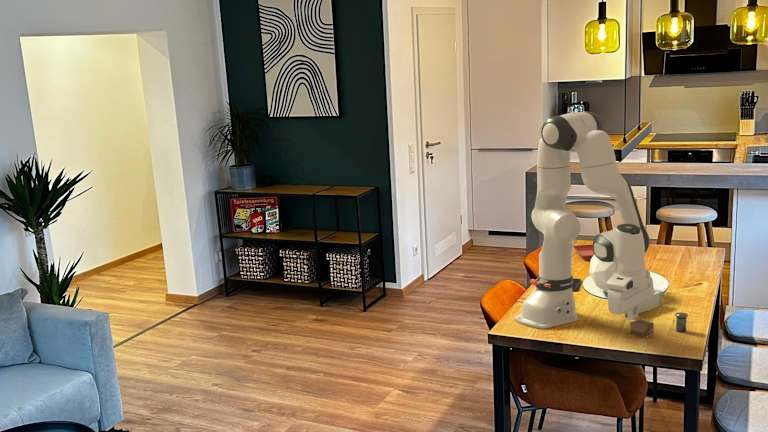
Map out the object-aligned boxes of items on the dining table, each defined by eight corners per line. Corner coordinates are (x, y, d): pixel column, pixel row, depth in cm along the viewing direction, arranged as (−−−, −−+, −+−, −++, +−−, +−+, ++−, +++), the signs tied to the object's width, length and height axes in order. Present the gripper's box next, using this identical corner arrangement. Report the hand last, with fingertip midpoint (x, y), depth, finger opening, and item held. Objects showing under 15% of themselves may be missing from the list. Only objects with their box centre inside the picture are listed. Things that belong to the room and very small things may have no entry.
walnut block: (643, 338, 223) (643, 326, 222) (630, 334, 227) (630, 322, 226) (653, 334, 225) (653, 322, 224) (640, 330, 229) (640, 318, 229)
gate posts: (683, 333, 224) (683, 317, 223) (622, 316, 242) (622, 301, 241) (689, 330, 226) (689, 314, 225) (628, 314, 244) (628, 298, 243)
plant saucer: (581, 262, 312) (581, 255, 311) (572, 252, 330) (572, 245, 329) (622, 260, 311) (622, 253, 311) (611, 250, 329) (611, 243, 328)
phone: (556, 288, 274) (561, 277, 287) (556, 291, 274) (561, 280, 288) (577, 290, 271) (581, 278, 284) (577, 292, 271) (581, 281, 285)
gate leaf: (662, 305, 250) (663, 291, 249) (634, 314, 242) (635, 300, 241) (659, 304, 251) (659, 290, 250) (631, 313, 243) (631, 299, 242)
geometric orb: (629, 312, 266) (651, 280, 251) (578, 293, 268) (597, 260, 253) (633, 276, 278) (655, 243, 264) (584, 258, 281) (603, 225, 266)
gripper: (640, 266, 225) (641, 307, 228) (602, 284, 213) (605, 327, 216) (658, 269, 220) (659, 310, 223) (621, 287, 208) (623, 331, 211)
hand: (632, 319), depth 219 cm, fingers closed
